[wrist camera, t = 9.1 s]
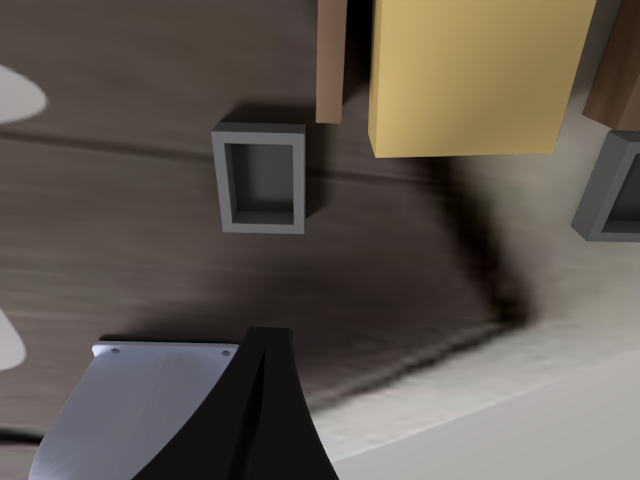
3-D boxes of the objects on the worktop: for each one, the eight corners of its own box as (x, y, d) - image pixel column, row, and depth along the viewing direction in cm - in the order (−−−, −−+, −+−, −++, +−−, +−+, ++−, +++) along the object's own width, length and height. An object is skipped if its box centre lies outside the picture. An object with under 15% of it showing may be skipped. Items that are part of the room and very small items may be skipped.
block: (367, 131, 19) (375, 157, 16) (373, -50, 15) (384, -61, 12) (517, 128, 19) (553, 153, 16) (559, -57, 15) (616, -70, 12)
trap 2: (571, 226, 21) (586, 241, 20) (608, 131, 19) (629, 142, 17) (646, 227, 21) (667, 243, 20) (694, 134, 19) (722, 144, 17)
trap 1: (229, 217, 21) (223, 232, 20) (218, 122, 18) (211, 131, 17) (305, 219, 21) (303, 234, 20) (305, 124, 19) (304, 133, 17)
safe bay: (316, 107, 18) (315, 122, 16) (321, -139, 14) (320, -162, 12) (604, 115, 18) (641, 131, 16) (697, -128, 14) (765, -150, 12)
